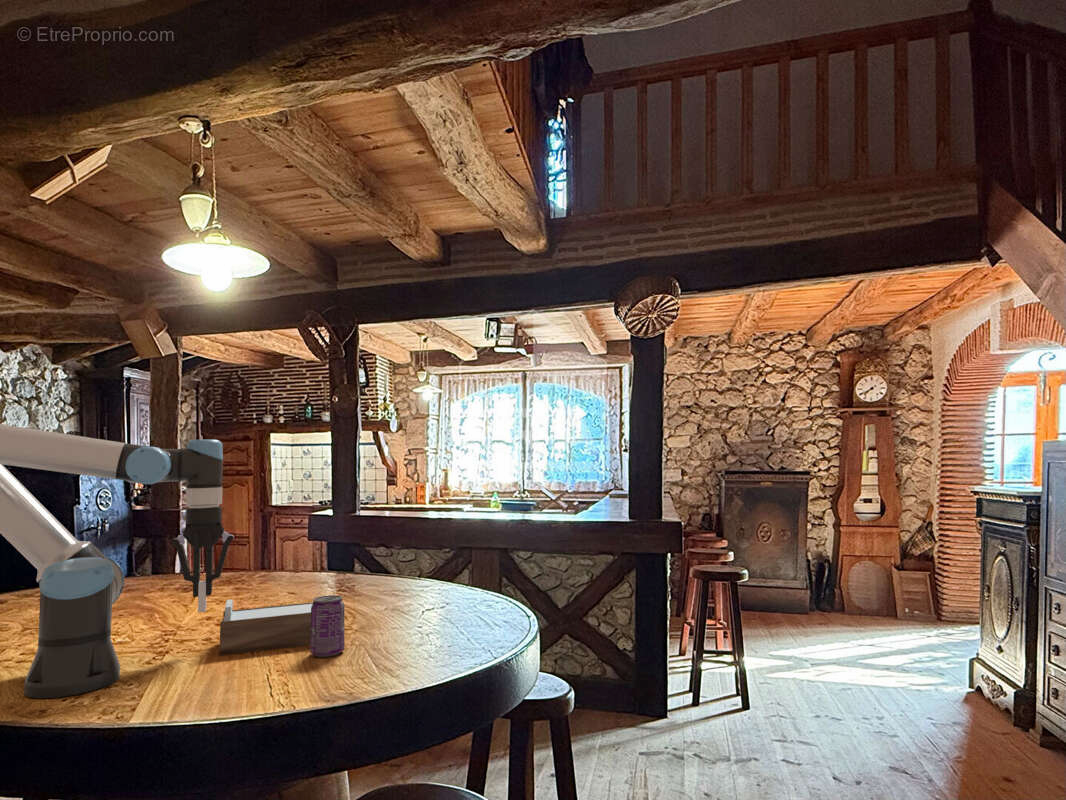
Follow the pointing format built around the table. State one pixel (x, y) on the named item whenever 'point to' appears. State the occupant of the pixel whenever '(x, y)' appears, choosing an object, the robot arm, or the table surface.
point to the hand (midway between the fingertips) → (202, 610)
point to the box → (265, 632)
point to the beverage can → (327, 626)
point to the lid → (263, 611)
